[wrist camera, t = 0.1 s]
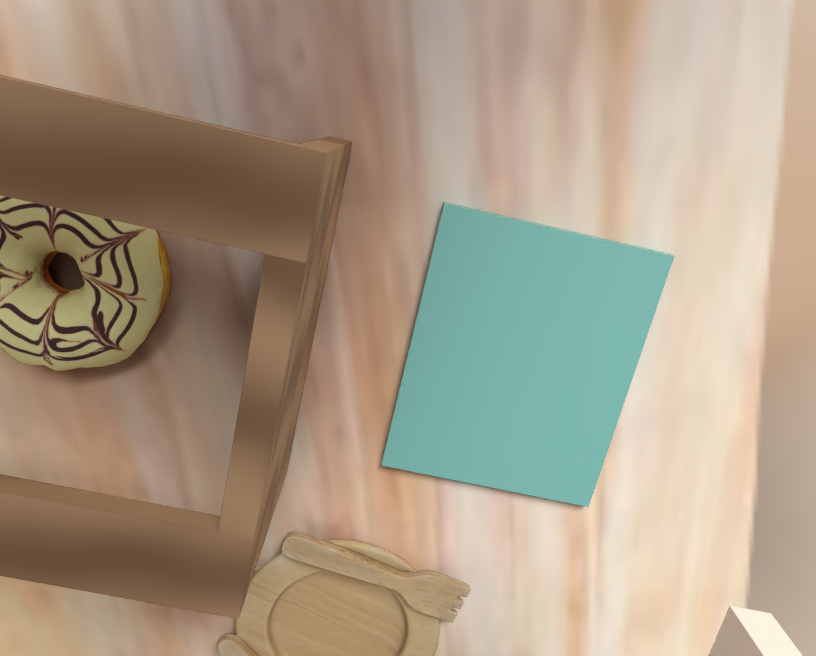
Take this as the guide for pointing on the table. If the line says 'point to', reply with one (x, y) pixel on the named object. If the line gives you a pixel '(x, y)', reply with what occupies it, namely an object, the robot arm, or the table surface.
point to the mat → (522, 354)
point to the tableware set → (341, 603)
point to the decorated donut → (81, 308)
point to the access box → (269, 346)
